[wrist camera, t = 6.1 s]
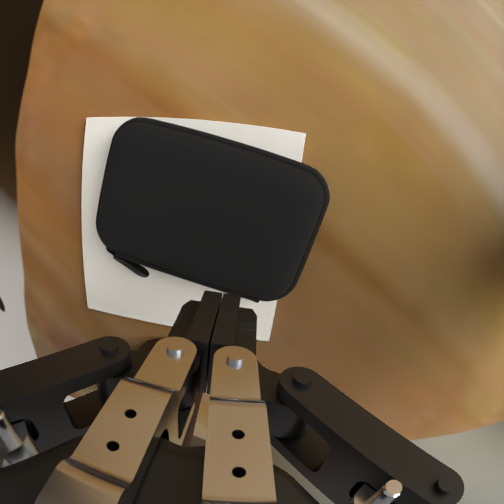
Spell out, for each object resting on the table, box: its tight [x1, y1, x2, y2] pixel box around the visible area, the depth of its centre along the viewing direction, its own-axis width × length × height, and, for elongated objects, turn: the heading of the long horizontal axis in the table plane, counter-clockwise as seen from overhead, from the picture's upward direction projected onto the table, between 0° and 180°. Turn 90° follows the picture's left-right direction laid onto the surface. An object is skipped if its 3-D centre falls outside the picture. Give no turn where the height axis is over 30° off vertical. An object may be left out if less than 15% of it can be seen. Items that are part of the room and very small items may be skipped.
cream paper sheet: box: [82, 117, 306, 341], centre depth 22 cm, size 16×16×1 cm
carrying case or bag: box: [96, 117, 329, 303], centre depth 20 cm, size 11×3×15 cm
